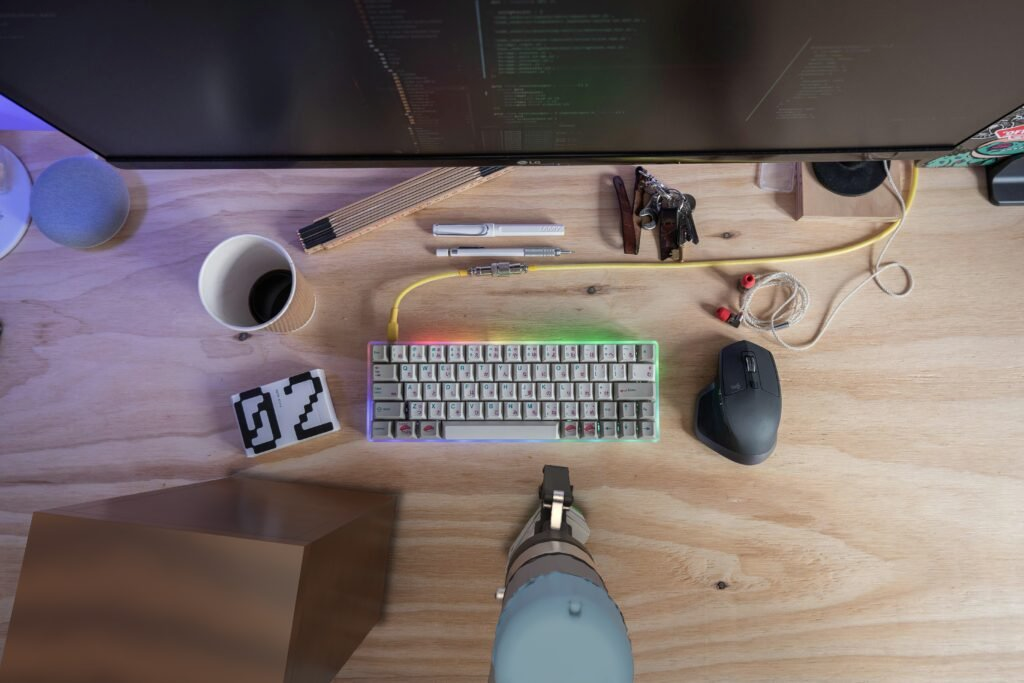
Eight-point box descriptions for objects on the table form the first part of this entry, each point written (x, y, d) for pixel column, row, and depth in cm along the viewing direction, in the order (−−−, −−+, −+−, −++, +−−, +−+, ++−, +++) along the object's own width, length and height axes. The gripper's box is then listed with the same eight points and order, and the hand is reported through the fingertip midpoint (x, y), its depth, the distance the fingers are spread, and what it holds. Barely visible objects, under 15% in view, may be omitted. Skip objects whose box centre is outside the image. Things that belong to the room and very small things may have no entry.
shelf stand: (379, 619, 70) (280, 747, 42) (212, 597, 70) (7, 708, 43) (396, 496, 71) (312, 541, 44) (233, 476, 72) (49, 508, 45)
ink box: (549, 488, 71) (553, 501, 59) (584, 513, 71) (594, 531, 59) (506, 550, 70) (502, 575, 58) (541, 576, 70) (543, 606, 58)
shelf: (280, 747, 42) (271, 759, 40) (7, 708, 43) (-12, 719, 41) (312, 541, 44) (304, 545, 42) (49, 508, 45) (33, 511, 43)
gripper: (520, 438, 47) (523, 434, 69) (487, 739, 44) (501, 634, 67) (616, 449, 47) (588, 441, 69) (588, 753, 44) (569, 643, 66)
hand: (545, 536), depth 68 cm, fingers closed on ink box, 9 cm apart
